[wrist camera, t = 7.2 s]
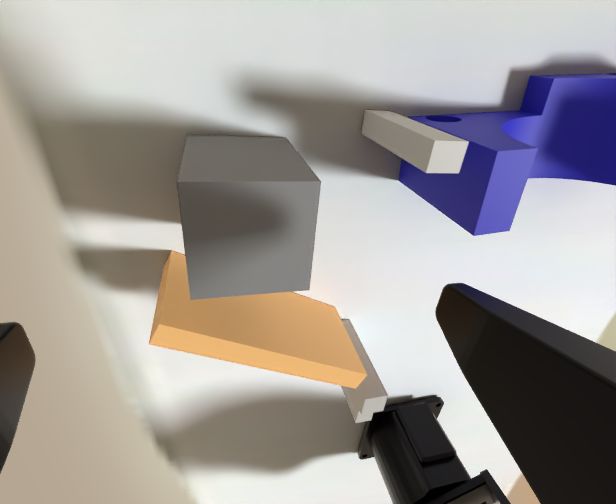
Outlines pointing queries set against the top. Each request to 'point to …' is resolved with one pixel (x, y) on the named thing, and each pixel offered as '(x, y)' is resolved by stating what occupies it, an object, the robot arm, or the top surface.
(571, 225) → the top surface
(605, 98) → the cable clip
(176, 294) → the door
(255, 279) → the gray rectangular block
